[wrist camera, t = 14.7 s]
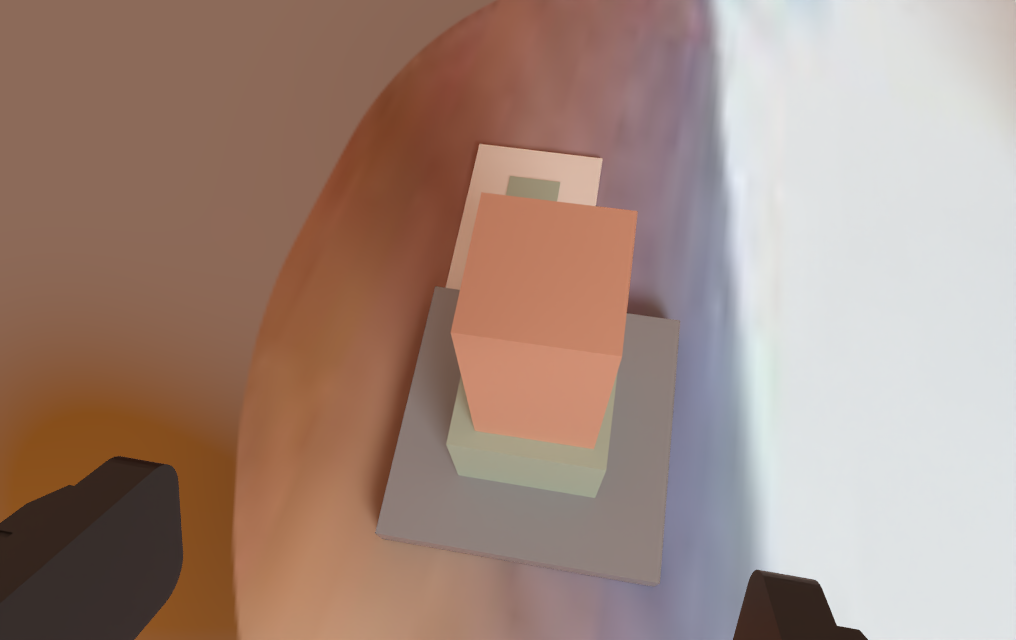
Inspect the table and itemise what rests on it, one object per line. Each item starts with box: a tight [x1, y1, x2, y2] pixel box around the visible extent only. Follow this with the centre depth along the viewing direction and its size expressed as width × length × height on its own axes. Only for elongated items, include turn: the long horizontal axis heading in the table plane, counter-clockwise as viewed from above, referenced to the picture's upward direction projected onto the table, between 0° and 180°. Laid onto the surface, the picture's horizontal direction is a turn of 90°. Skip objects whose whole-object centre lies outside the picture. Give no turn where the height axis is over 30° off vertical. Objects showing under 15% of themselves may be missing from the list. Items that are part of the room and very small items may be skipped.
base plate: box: [375, 286, 680, 587], centre depth 33 cm, size 12×12×2 cm
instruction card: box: [446, 144, 602, 290], centre depth 38 cm, size 10×7×1 cm
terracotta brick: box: [451, 192, 638, 449], centre depth 24 cm, size 4×4×9 cm
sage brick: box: [446, 372, 618, 498], centre depth 30 cm, size 6×6×5 cm
